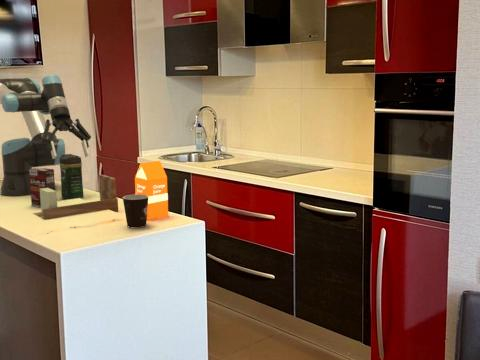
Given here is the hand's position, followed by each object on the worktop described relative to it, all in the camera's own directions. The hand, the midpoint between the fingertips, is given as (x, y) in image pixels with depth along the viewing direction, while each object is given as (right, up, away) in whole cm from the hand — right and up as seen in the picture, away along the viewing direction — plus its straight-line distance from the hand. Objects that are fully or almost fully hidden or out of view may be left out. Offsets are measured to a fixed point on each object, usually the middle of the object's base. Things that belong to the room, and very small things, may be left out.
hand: (71, 156), depth 240 cm
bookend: (-1, -22, -26) cm, 34 cm away
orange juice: (+36, -23, -23) cm, 49 cm away
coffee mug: (+32, -25, -37) cm, 55 cm away
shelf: (+7, -22, -19) cm, 30 cm away
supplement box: (-7, -21, -12) cm, 25 cm away
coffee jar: (-2, -17, +8) cm, 19 cm away
